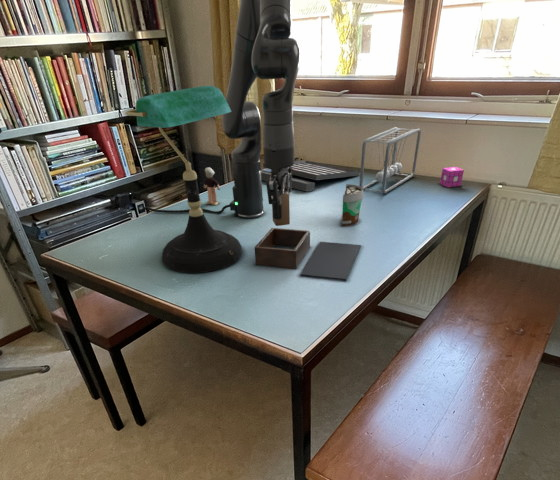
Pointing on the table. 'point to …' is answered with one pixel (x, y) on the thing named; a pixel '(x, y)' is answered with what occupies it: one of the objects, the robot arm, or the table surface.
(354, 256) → the mat
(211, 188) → the grandmother figurine
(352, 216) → the food container
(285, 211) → the wooden block
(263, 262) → the crate
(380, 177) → the newton's cradle
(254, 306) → the table surface
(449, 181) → the puzzle toy
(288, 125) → the robot arm
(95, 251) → the table surface
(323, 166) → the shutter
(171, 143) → the banker's lamp
